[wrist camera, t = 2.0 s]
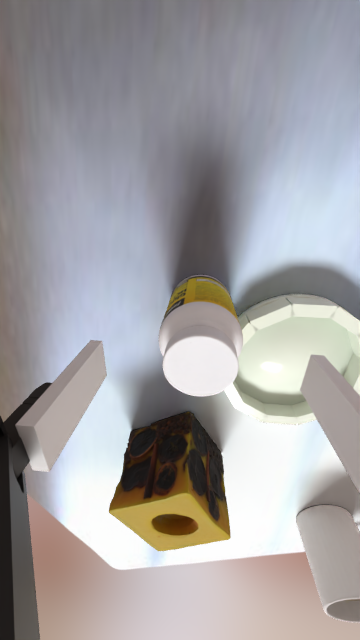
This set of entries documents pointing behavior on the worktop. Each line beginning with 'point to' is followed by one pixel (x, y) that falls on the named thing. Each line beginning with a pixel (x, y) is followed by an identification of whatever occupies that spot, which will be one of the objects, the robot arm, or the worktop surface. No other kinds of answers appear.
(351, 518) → the mug
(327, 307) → the sage dish
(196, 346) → the pill bottle
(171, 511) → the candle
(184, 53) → the worktop surface
